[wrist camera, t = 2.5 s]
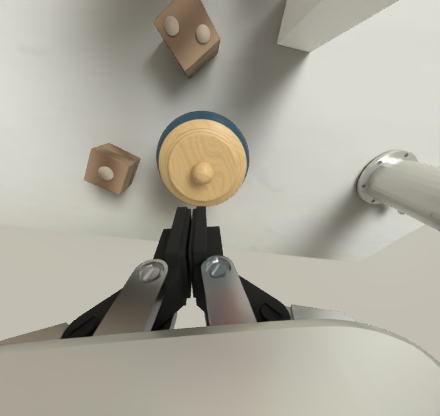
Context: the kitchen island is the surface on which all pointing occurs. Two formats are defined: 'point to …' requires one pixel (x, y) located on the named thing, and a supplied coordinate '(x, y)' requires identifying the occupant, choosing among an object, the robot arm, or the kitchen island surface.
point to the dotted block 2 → (188, 34)
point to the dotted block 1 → (111, 168)
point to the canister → (202, 158)
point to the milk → (323, 20)
